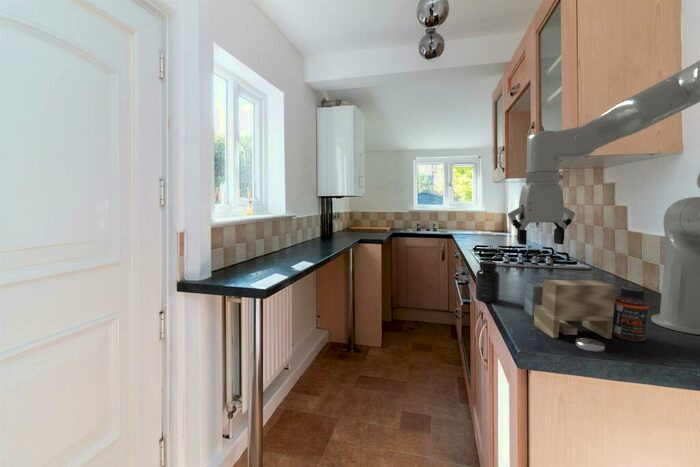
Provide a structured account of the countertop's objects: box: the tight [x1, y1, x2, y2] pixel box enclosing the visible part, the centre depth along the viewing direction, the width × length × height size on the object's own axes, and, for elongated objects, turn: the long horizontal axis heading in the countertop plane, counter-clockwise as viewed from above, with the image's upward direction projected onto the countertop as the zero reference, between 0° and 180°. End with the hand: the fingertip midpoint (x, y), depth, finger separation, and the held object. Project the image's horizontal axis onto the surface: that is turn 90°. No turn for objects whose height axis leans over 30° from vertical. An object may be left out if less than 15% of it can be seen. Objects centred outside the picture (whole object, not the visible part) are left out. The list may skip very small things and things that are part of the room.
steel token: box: [575, 337, 606, 353], centre depth 71 cm, size 5×5×1 cm
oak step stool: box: [533, 279, 616, 339], centre depth 79 cm, size 13×8×12 cm, turn 89°
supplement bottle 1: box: [475, 260, 501, 304], centre depth 105 cm, size 7×7×12 cm
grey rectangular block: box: [523, 282, 578, 336], centre depth 86 cm, size 4×17×8 cm, turn 179°
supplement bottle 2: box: [612, 286, 650, 343], centre depth 75 cm, size 6×6×11 cm
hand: (540, 244), depth 91 cm, fingers open, 9 cm apart
